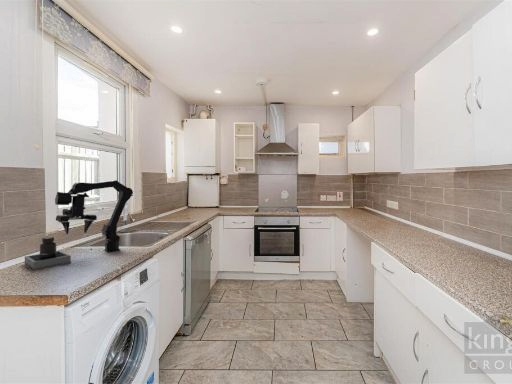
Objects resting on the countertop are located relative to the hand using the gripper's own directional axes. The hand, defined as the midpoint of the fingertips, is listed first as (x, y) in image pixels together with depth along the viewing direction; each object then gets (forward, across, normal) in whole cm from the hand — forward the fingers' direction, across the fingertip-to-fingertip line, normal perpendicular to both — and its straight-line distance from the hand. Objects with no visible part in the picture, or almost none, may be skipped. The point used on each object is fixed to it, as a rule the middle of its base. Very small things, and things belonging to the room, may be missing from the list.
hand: (76, 233), depth 153 cm
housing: (+14, +14, +3) cm, 20 cm away
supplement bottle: (+13, +14, +3) cm, 19 cm away
